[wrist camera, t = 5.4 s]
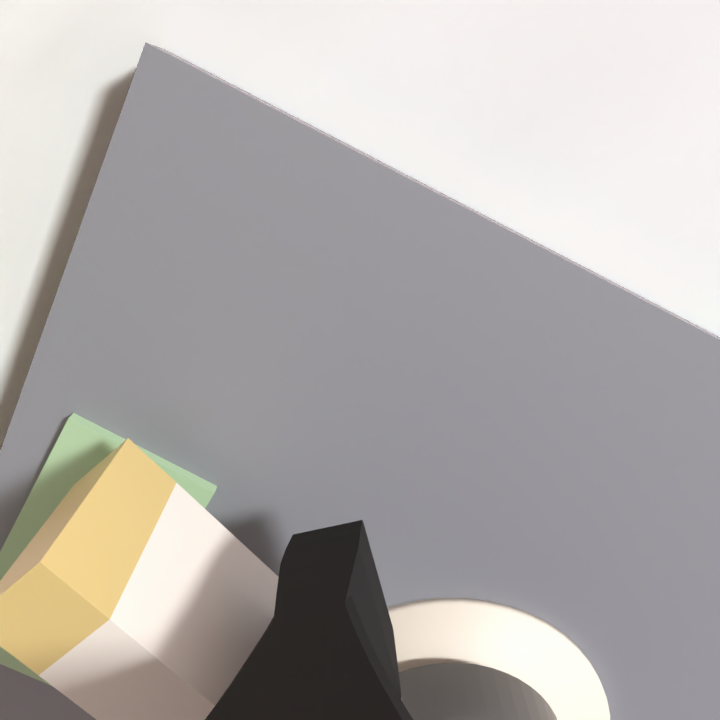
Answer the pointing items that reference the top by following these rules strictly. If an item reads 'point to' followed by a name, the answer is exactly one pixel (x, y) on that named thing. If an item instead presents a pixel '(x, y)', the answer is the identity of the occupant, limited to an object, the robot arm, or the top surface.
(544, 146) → the top surface
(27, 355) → the top surface
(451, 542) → the board
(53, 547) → the peg dial
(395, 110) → the top surface
